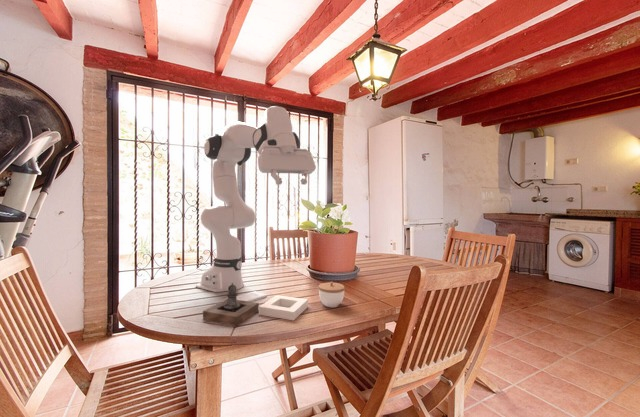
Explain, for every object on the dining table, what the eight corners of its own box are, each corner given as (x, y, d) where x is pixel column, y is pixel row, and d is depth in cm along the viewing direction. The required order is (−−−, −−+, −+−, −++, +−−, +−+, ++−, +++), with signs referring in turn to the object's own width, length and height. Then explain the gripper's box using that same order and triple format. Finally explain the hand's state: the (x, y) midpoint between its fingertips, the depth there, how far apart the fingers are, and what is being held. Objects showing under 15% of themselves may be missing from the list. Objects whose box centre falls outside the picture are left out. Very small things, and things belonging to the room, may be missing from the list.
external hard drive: (231, 301, 122) (254, 293, 132) (243, 305, 117) (266, 298, 127) (231, 297, 122) (255, 290, 132) (243, 301, 117) (266, 294, 127)
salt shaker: (243, 315, 107) (243, 282, 106) (228, 319, 102) (229, 286, 102) (234, 310, 110) (235, 279, 110) (220, 315, 106) (220, 282, 106)
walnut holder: (202, 319, 102) (203, 310, 102) (227, 305, 115) (227, 298, 115) (236, 325, 97) (237, 316, 97) (258, 310, 111) (258, 303, 111)
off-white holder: (259, 314, 107) (259, 306, 107) (276, 302, 121) (276, 295, 120) (293, 320, 103) (293, 312, 103) (307, 306, 116) (308, 299, 116)
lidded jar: (347, 302, 122) (348, 280, 122) (339, 311, 112) (340, 287, 112) (323, 298, 126) (324, 277, 126) (314, 306, 116) (314, 283, 116)
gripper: (306, 154, 109) (314, 187, 105) (253, 150, 98) (260, 188, 94) (313, 145, 104) (322, 180, 100) (259, 140, 93) (267, 179, 89)
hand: (292, 183), depth 97 cm, fingers open, 8 cm apart
